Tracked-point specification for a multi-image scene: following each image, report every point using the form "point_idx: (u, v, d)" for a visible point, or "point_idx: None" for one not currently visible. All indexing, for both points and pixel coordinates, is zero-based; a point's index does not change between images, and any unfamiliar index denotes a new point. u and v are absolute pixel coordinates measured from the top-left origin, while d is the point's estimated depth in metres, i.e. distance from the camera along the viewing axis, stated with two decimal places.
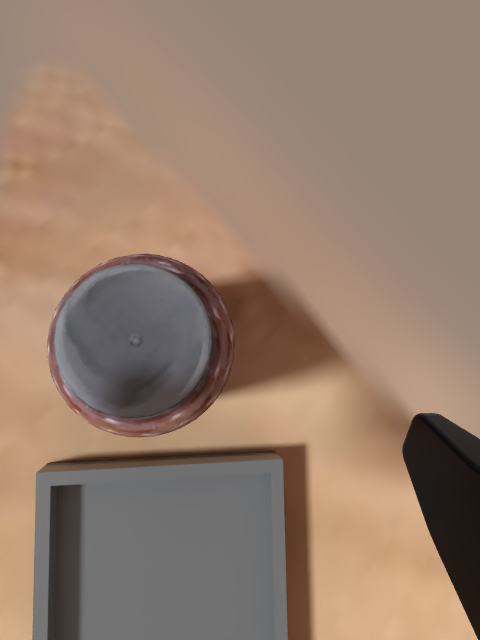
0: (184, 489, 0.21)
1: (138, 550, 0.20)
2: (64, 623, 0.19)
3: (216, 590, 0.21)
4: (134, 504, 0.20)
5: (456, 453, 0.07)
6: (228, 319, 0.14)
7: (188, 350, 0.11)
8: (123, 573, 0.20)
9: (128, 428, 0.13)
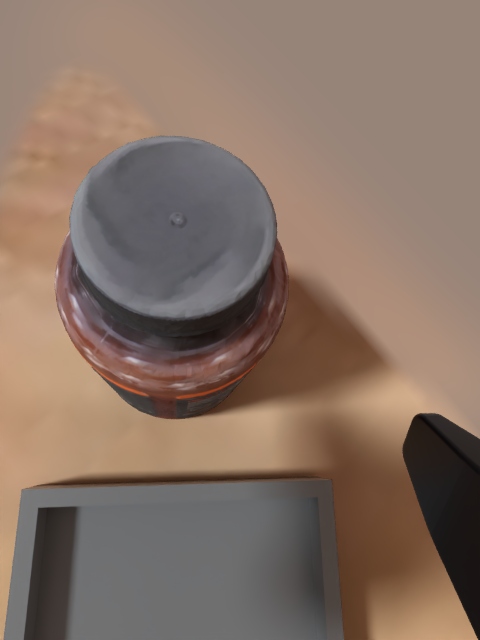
0: (207, 522, 0.16)
1: (146, 606, 0.15)
2: None
3: None
4: (143, 541, 0.16)
5: (456, 453, 0.07)
6: (281, 250, 0.11)
7: (247, 236, 0.08)
8: None
9: (155, 372, 0.09)
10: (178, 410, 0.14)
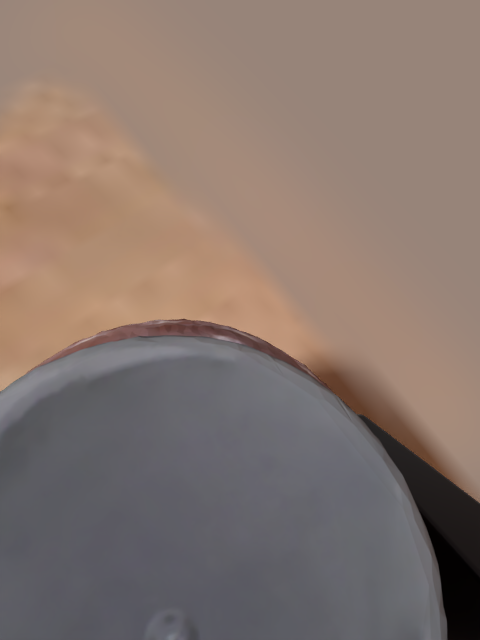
0: None
1: None
2: None
3: None
4: None
5: None
6: None
7: None
8: None
9: None
10: None
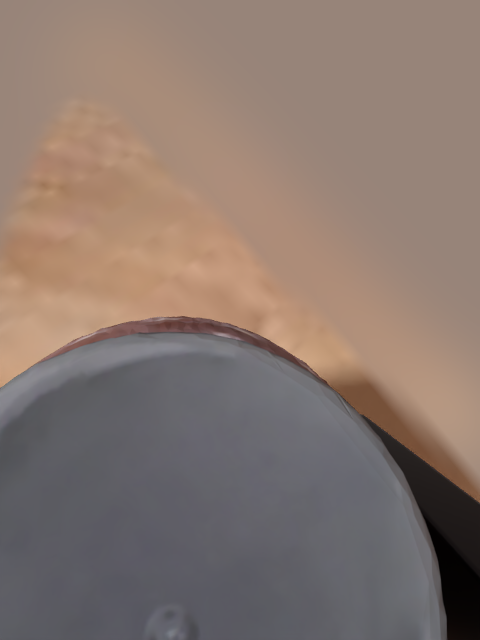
0: None
1: None
2: None
3: None
4: None
5: None
6: None
7: None
8: None
9: None
10: None
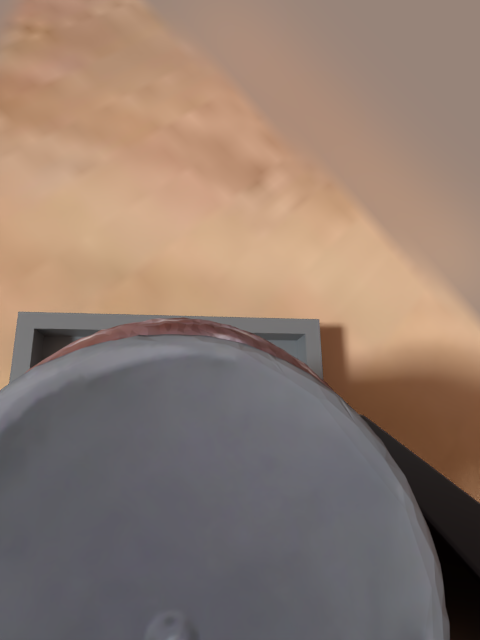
0: None
1: None
2: None
3: None
4: None
5: None
6: None
7: None
8: None
9: None
10: None
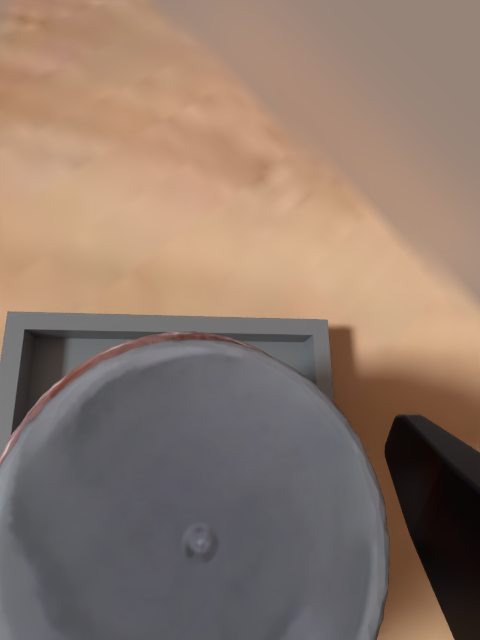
0: None
1: None
2: None
3: None
4: None
5: (434, 454, 0.07)
6: None
7: (337, 567, 0.04)
8: None
9: None
10: None
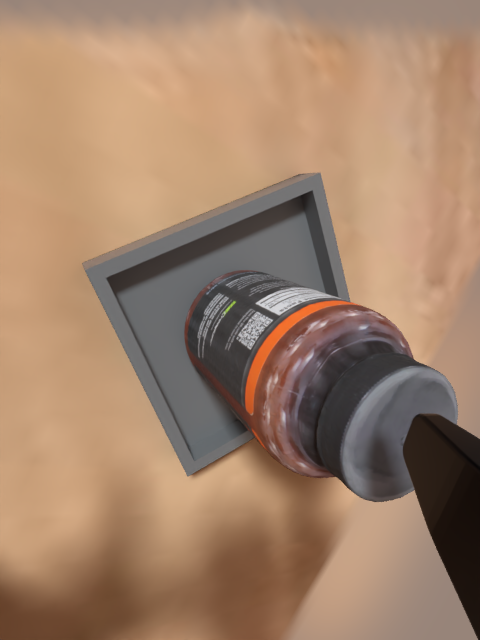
0: None
1: None
2: (180, 249, 0.19)
3: None
4: (293, 268, 0.22)
5: (456, 453, 0.07)
6: None
7: (405, 481, 0.12)
8: None
9: (280, 433, 0.12)
10: (219, 392, 0.16)
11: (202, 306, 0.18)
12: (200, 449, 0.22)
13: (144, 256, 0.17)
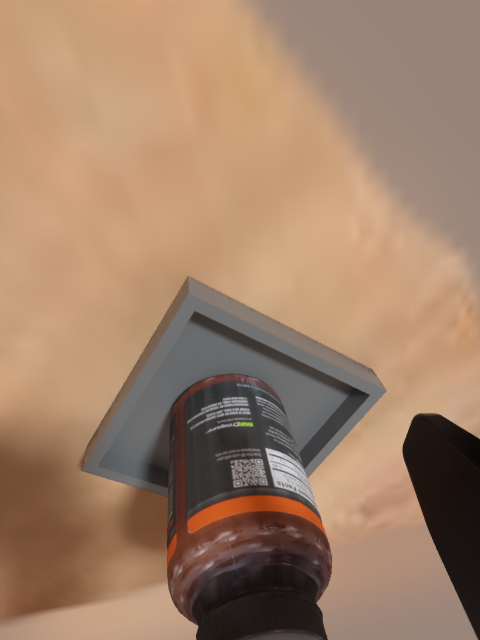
0: None
1: None
2: None
3: None
4: (301, 418, 0.23)
5: (456, 453, 0.07)
6: None
7: None
8: None
9: (194, 571, 0.13)
10: (175, 466, 0.17)
11: (226, 390, 0.19)
12: (109, 460, 0.22)
13: (232, 324, 0.18)
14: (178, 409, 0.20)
